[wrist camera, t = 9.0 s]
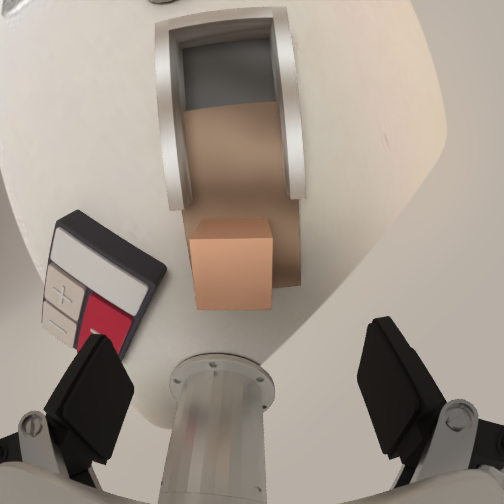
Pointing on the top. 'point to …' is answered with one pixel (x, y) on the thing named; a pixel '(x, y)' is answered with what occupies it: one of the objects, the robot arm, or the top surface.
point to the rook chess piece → (160, 1)
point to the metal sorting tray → (233, 124)
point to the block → (232, 264)
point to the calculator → (96, 284)
